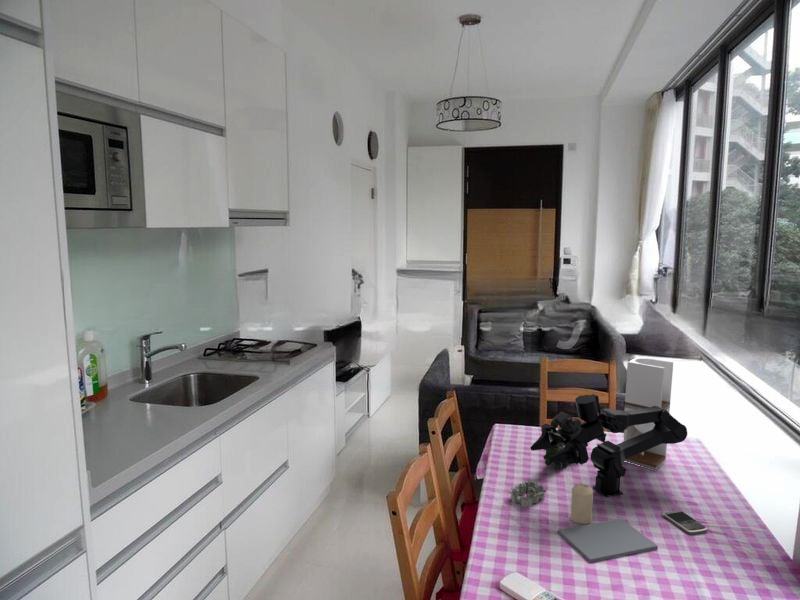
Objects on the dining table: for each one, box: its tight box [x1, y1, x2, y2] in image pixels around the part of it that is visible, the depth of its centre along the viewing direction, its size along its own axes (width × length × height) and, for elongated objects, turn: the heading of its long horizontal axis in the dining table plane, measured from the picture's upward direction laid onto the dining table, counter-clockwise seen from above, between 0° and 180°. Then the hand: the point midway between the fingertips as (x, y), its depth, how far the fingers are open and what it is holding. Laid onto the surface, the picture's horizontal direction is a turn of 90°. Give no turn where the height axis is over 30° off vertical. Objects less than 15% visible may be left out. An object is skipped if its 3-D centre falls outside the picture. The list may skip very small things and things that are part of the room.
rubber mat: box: [557, 517, 659, 563], centre depth 150 cm, size 20×14×1 cm
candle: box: [570, 482, 594, 525], centre depth 159 cm, size 6×6×10 cm
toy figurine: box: [543, 417, 569, 469], centre depth 197 cm, size 9×19×25 cm
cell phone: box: [661, 509, 708, 535], centre depth 159 cm, size 6×11×1 cm, turn 15°
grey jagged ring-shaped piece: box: [508, 478, 548, 508], centre depth 172 cm, size 11×8×4 cm
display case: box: [622, 356, 674, 471], centre depth 196 cm, size 11×11×35 cm
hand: (539, 454), depth 166 cm, fingers open, 9 cm apart
